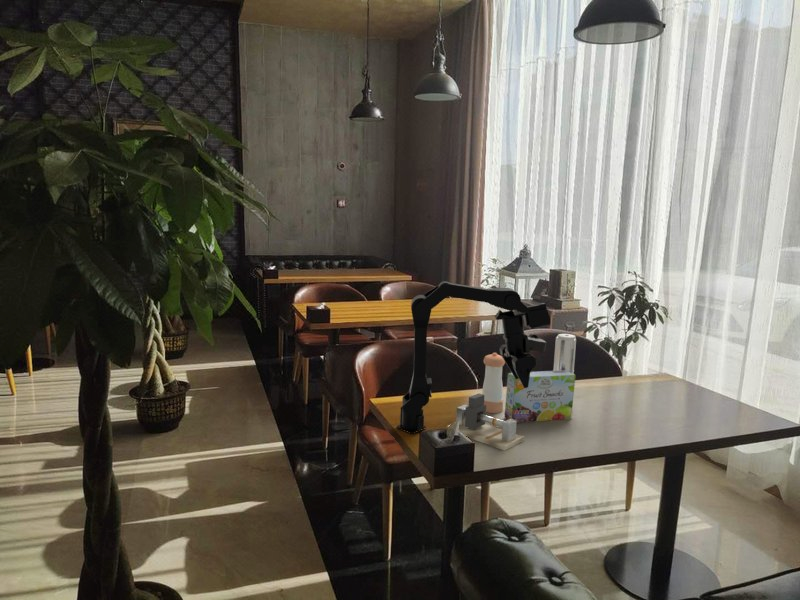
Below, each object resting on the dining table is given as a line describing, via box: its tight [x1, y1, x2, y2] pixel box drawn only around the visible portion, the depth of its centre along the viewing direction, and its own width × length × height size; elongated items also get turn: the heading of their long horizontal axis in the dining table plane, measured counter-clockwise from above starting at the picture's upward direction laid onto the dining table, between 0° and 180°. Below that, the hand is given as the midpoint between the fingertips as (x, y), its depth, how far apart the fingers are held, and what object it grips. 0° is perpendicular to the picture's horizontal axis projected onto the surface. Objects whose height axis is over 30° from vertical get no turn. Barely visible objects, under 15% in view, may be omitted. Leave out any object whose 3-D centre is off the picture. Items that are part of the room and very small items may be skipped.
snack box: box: [504, 370, 576, 424], centre depth 178 cm, size 21×6×15 cm, turn 106°
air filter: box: [552, 333, 577, 374], centre depth 188 cm, size 6×6×25 cm
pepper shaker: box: [481, 352, 506, 414], centre depth 184 cm, size 7×7×19 cm
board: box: [446, 423, 525, 452], centre depth 164 cm, size 20×10×1 cm, turn 47°
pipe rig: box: [455, 404, 518, 442], centre depth 163 cm, size 18×4×5 cm, turn 47°
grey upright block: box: [465, 393, 487, 429], centre depth 165 cm, size 3×6×9 cm, turn 137°
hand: (521, 383), depth 165 cm, fingers open, 9 cm apart
